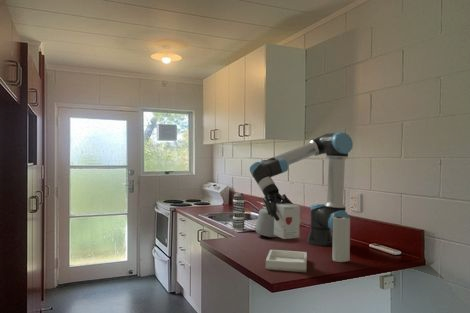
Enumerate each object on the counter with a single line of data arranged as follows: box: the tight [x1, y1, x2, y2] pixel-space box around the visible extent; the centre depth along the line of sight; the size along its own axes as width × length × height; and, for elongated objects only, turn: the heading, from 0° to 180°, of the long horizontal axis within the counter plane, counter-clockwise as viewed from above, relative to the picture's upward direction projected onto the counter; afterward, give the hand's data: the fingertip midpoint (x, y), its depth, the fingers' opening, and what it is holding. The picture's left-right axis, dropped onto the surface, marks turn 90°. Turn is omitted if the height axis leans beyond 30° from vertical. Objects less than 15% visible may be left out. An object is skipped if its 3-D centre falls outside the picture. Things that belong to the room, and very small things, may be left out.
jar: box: [254, 206, 278, 238], centre depth 215 cm, size 19×15×25 cm
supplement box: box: [274, 203, 301, 240], centre depth 159 cm, size 9×9×15 cm
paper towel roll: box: [331, 217, 351, 263], centre depth 166 cm, size 7×6×21 cm
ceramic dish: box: [265, 249, 308, 273], centre depth 159 cm, size 18×18×4 cm
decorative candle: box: [231, 192, 246, 231], centre depth 237 cm, size 9×9×25 cm
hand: (291, 224), depth 157 cm, fingers closed on supplement box, 10 cm apart
